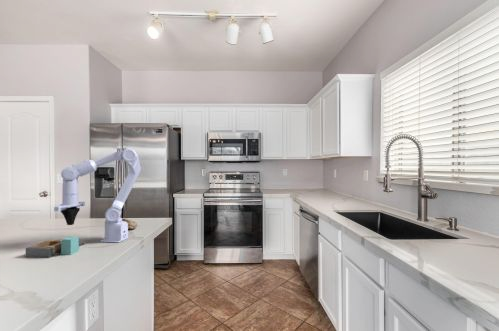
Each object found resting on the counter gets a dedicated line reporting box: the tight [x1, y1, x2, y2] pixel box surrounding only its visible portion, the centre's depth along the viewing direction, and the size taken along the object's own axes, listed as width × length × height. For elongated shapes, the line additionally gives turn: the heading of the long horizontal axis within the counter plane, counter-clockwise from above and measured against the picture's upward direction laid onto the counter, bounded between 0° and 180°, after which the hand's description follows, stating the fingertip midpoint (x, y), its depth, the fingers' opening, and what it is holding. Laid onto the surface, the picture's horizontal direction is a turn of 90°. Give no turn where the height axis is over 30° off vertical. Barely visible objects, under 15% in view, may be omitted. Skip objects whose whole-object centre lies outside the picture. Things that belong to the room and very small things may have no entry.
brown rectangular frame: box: [30, 239, 61, 256], centre depth 99 cm, size 9×8×4 cm
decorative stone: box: [121, 218, 138, 230], centre depth 139 cm, size 10×4×15 cm
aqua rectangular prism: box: [60, 236, 80, 256], centre depth 99 cm, size 4×4×6 cm
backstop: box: [25, 241, 85, 259], centre depth 102 cm, size 12×16×4 cm
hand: (70, 224), depth 109 cm, fingers closed
